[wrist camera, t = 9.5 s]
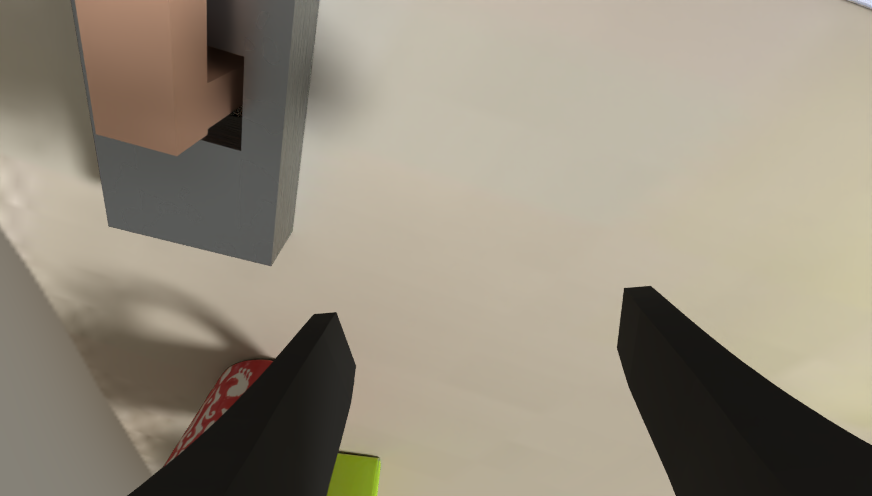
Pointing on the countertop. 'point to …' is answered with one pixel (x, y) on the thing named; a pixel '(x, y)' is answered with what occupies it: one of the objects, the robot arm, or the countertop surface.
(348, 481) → the box
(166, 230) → the gray slotted board
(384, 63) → the countertop surface
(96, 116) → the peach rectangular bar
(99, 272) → the countertop surface
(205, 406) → the mug
